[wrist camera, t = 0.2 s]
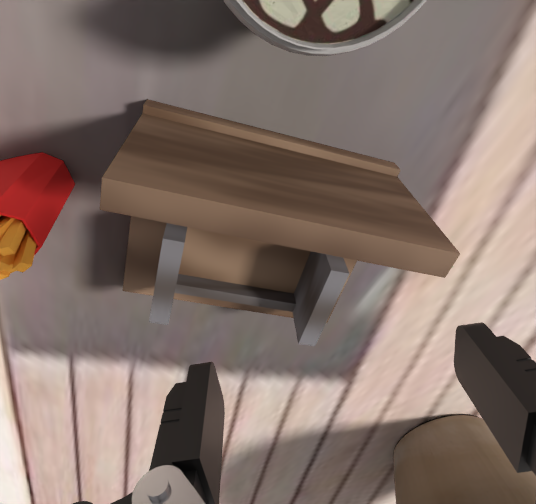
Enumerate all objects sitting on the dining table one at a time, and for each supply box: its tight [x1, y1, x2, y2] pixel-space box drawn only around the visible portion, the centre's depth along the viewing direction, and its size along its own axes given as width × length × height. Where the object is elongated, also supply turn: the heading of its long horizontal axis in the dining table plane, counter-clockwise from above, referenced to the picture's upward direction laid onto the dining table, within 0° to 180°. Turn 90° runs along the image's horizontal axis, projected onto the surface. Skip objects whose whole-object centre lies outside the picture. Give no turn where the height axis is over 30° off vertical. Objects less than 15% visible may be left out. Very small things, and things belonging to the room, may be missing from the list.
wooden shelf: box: [100, 99, 460, 346], centre depth 31 cm, size 17×20×12 cm
